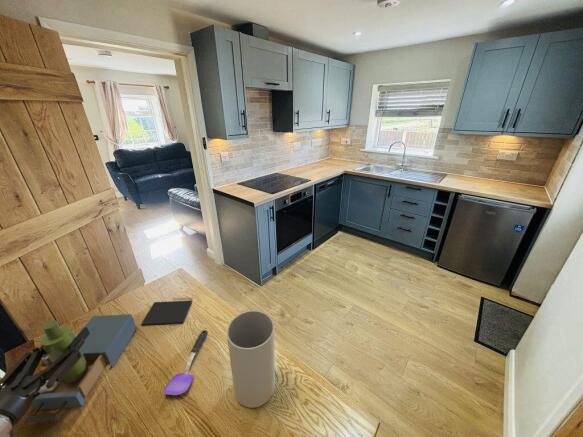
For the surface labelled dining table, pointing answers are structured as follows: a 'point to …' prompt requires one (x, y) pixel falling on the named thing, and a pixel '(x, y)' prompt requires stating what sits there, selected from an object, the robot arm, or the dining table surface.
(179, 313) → the mat
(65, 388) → the drawer
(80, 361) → the oil bottle
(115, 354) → the cabinet
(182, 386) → the spatula
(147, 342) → the dining table surface
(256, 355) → the cylinder vase
